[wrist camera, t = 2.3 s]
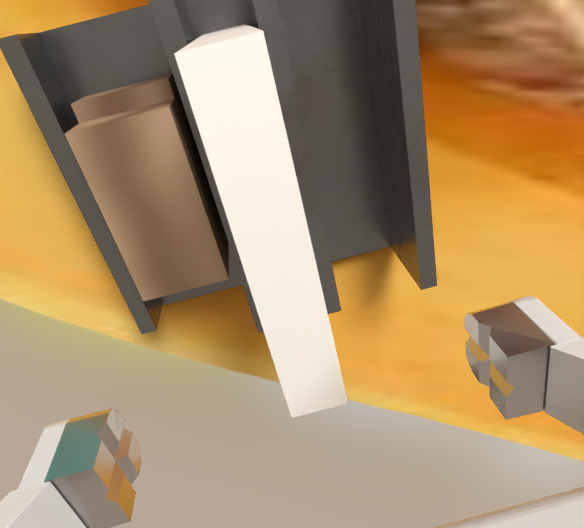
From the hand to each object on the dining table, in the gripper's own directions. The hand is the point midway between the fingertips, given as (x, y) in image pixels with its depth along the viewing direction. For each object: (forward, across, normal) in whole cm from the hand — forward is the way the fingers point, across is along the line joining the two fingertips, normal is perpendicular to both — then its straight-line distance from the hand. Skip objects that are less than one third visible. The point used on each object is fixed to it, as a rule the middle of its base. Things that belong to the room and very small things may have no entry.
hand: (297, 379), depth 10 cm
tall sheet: (+20, 0, 0) cm, 21 cm away
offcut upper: (+18, -6, -1) cm, 19 cm away
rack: (+22, 0, 0) cm, 22 cm away
